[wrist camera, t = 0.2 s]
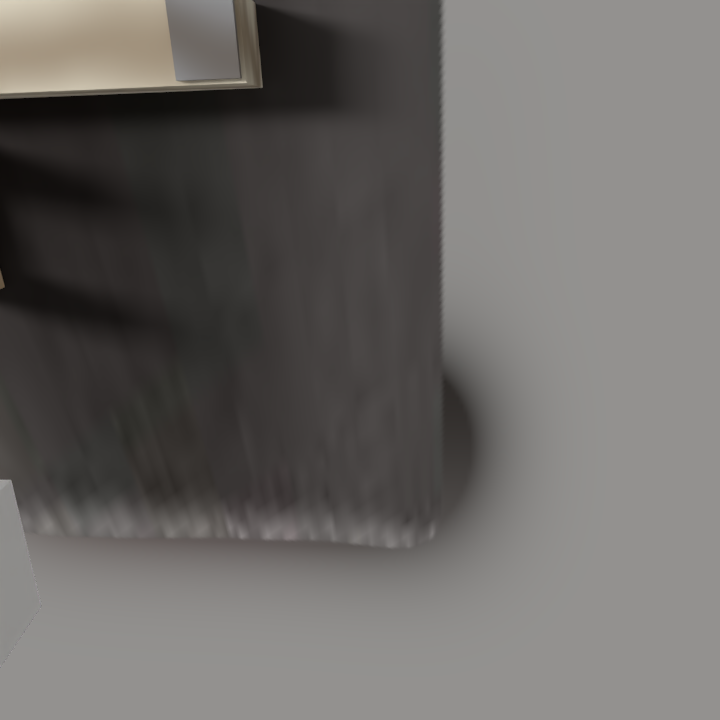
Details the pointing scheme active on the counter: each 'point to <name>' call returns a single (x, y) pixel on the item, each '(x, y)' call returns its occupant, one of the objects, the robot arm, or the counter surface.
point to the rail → (126, 47)
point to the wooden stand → (1, 281)
